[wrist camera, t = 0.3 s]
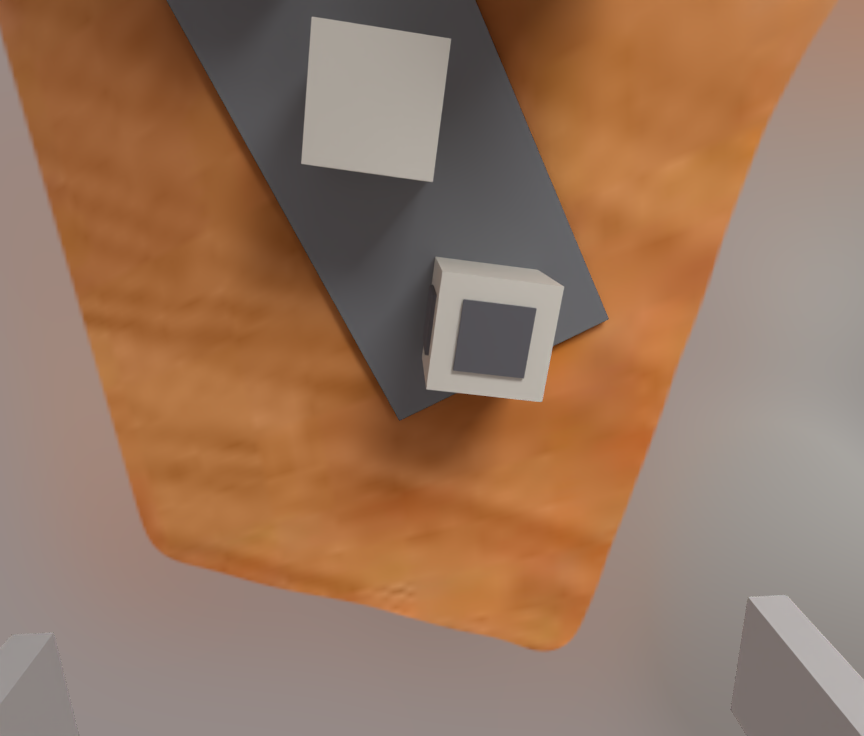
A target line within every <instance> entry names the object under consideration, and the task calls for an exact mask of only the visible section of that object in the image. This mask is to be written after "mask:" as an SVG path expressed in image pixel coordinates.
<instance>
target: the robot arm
mask: <svg viewBox="0 0 864 736" xmlns="http://www.w3.org/2000/svg"><path fill="white" fill-rule="evenodd" d="M731 711H732V713H733V714H734V716H735V717H736V719H737V721H738V722H739V724H740V726H741V727H742V729H743V730H744V732H745V734H746V735H747V736H864V679H863V678H862V677H861V676H860V675H859V674H858V673H857V672H856V670H854V668H853V667H852V666H851V665H850V664H849V663H848V662H847V661H846V660H845V659H844V657H843V656H842V655H841V654H840V653H839V652H838V651H837V650H836V649H835V647H834V646H833V645H832V644H831V643H830V642H829V641H828V640H827V639H826V638H825V637H824V635H822V633H821V632H820V631H819V630H818V629H817V628H816V627H815V626H814V625H813V623H812V622H811V621H810V620H809V619H808V618H807V617H806V616H805V615H804V614H803V612H802V611H801V610H800V609H799V608H798V607H797V606H796V605H795V604H794V603H793V601H792V600H791V599H790V598H789V597H788V596H787V595H776V596H758V597H757V596H756V597H748V600H747V606H746V613H745V619H744V626H743V632H742V639H741V645H740V652H739V658H738V665H737V671H736V677H735V685H734V690H733V697H732V703H731ZM0 736H79V733H78V729H77V724H76V720H75V717H74V712H73V709H72V704H71V700H70V696H69V692H68V688H67V684H66V680H65V676H64V672H63V668H62V664H61V659H60V655H59V652H58V647H57V643H56V639H55V635H54V633H34V634H14V635H11V636H10V637H9V638H8V639H7V641H6V642H5V643H4V644H3V645H2V647H1V648H0Z"/></svg>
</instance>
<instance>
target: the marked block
mask: <svg viewBox="0 0 864 736" xmlns="http://www.w3.org/2000/svg"><path fill="white" fill-rule="evenodd" d="M563 291H564V286H562V285H561V284H559V283H558V282H556V281H555V280H553V279H551V278H550V277H548V276H547V275H545V274H544V273H542V272H541V271H539V270H536V269H528V268H520V267H512V266H505V265H497V264H489V263H481V262H474V261H466V260H458V259H450V258H442V257H435V263H434V271H433V278H432V285H431V284H430V287H429V295H428V302H427V310H426V317H425V325H424V332H423V353H422V361H423V369H424V376H425V384H426V389H428V390H437V391H446V392H455V393H464V394H473V395H482V396H491V397H500V398H509V399H518V400H528V401H537V402H542V399H543V394H544V389H545V384H546V379H547V373H548V368H549V363H550V358H551V353H552V348H553V342H554V337H555V332H556V327H557V322H558V317H559V311H560V306H561V301H562V296H563Z"/></svg>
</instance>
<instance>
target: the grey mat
mask: <svg viewBox="0 0 864 736" xmlns="http://www.w3.org/2000/svg"><path fill="white" fill-rule="evenodd" d="M167 2H168V4H169V6H170V7H171V9H172V11H173V13H174V15H175V16H176V18H177V20H178V22H179V24H180V25H181V27H182V29H183V31H184V33H185V34H186V36H187V38H188V40H189V42H190V43H191V45H192V47H193V49H194V51H195V53H196V54H197V56H198V58H199V60H200V62H201V63H202V65H203V67H204V69H205V71H206V72H207V74H208V76H209V78H210V80H211V81H212V83H213V85H214V87H215V89H216V90H217V92H218V94H219V96H220V98H221V99H222V101H223V103H224V105H225V107H226V108H227V110H228V112H229V114H230V116H231V118H232V119H233V121H234V123H235V125H236V127H237V128H238V130H239V132H240V134H241V136H242V137H243V139H244V141H245V143H246V145H247V146H248V148H249V150H250V152H251V154H252V155H253V157H254V159H255V161H256V163H257V164H258V166H259V168H260V170H261V172H262V173H263V175H264V177H265V179H266V181H267V182H268V184H269V186H270V188H271V190H272V192H273V193H274V195H275V197H276V199H277V201H278V202H279V204H280V206H281V208H282V210H283V211H284V213H285V215H286V217H287V219H288V220H289V222H290V224H291V226H292V228H293V229H294V231H295V233H296V235H297V237H298V238H299V240H300V242H301V244H302V246H303V247H304V249H305V251H306V253H307V255H308V257H309V258H310V260H311V262H312V264H313V266H314V267H315V269H316V271H317V273H318V275H319V276H320V278H321V280H322V282H323V284H324V285H325V287H326V289H327V291H328V293H329V294H330V296H331V298H332V300H333V302H334V303H335V305H336V307H337V309H338V311H339V312H340V314H341V316H342V318H343V320H344V321H345V323H346V325H347V327H348V329H349V331H350V332H351V334H352V336H353V338H354V340H355V341H356V343H357V345H358V347H359V349H360V350H361V352H362V354H363V356H364V358H365V359H366V361H367V363H368V365H369V367H370V368H371V370H372V372H373V374H374V376H375V377H376V379H377V381H378V383H379V385H380V386H381V388H382V390H383V392H384V394H385V396H386V397H387V399H388V401H389V403H390V405H391V406H392V408H393V410H394V412H395V414H396V415H397V417H398V419H399V421H400V420H402V419H404V418H406V417H408V416H410V415H412V414H414V413H416V412H418V411H420V410H422V409H425V408H427V407H429V406H431V405H433V404H435V403H437V402H439V401H441V400H443V399H445V398H447V397H449V396H451V395H453V394H455V392H446V391H437V390H428V389H426V384H425V376H424V369H423V361H422V353H423V332H424V325H425V317H426V310H427V302H428V295H429V287H430V284H431V285H432V278H433V271H434V263H435V257H442V258H450V259H458V260H466V261H474V262H481V263H489V264H497V265H505V266H512V267H520V268H528V269H536V270H539V271H541V272H542V273H544V274H545V275H547V276H548V277H550V278H551V279H553V280H555V281H556V282H558V283H559V284H561V285H562V286H564V291H563V296H562V301H561V306H560V311H559V317H558V322H557V327H556V332H555V337H554V342H553V346H554V345H556V344H558V343H561V342H563V341H565V340H567V339H569V338H571V337H573V336H575V335H577V334H579V333H581V332H583V331H585V330H587V329H589V328H591V327H593V326H596V325H598V324H600V323H602V322H604V321H606V320H608V316H607V314H606V311H605V309H604V307H603V304H602V302H601V299H600V297H599V295H598V292H597V290H596V287H595V285H594V283H593V280H592V278H591V275H590V273H589V271H588V268H587V266H586V264H585V261H584V259H583V256H582V254H581V252H580V249H579V247H578V244H577V242H576V240H575V237H574V235H573V232H572V230H571V228H570V225H569V223H568V221H567V218H566V216H565V213H564V211H563V209H562V206H561V204H560V201H559V199H558V197H557V194H556V192H555V189H554V187H553V185H552V182H551V180H550V178H549V175H548V173H547V170H546V168H545V166H544V163H543V161H542V158H541V156H540V154H539V151H538V149H537V146H536V144H535V142H534V139H533V137H532V134H531V132H530V130H529V127H528V125H527V123H526V120H525V118H524V115H523V113H522V111H521V108H520V106H519V103H518V101H517V99H516V96H515V94H514V91H513V89H512V87H511V84H510V82H509V80H508V77H507V75H506V72H505V70H504V68H503V65H502V63H501V60H500V58H499V56H498V53H497V51H496V48H495V46H494V44H493V41H492V39H491V37H490V34H489V32H488V29H487V27H486V25H485V22H484V20H483V17H482V15H481V13H480V10H479V8H478V5H477V3H476V1H475V0H167ZM312 17H318V18H325V19H331V20H337V21H344V22H350V23H356V24H362V25H369V26H375V27H381V28H387V29H394V30H400V31H406V32H412V33H419V34H425V35H431V36H438V37H444V38H450V39H451V44H450V52H449V60H448V68H447V75H446V83H445V91H444V99H443V107H442V114H441V122H440V130H439V138H438V146H437V153H436V161H435V169H434V177H433V182H426V181H419V180H412V179H405V178H397V177H390V176H383V175H376V174H369V173H362V172H354V171H347V170H340V169H333V168H326V167H318V166H312V165H306V164H301V160H302V146H303V131H304V117H305V103H306V89H307V75H308V61H309V47H310V33H311V19H312Z"/></svg>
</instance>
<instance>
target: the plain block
mask: <svg viewBox="0 0 864 736" xmlns="http://www.w3.org/2000/svg"><path fill="white" fill-rule="evenodd" d="M450 44H451V39H450V38H444V37H438V36H431V35H425V34H419V33H412V32H406V31H400V30H394V29H387V28H381V27H375V26H369V25H362V24H356V23H350V22H344V21H337V20H331V19H325V18H318V17H312V19H311V33H310V47H309V61H308V75H307V89H306V103H305V117H304V131H303V146H302V160H301V164H306V165H312V166H318V167H326V168H333V169H340V170H347V171H354V172H362V173H369V174H376V175H383V176H390V177H397V178H405V179H412V180H419V181H426V182H433V177H434V169H435V161H436V153H437V146H438V138H439V130H440V122H441V114H442V107H443V99H444V91H445V83H446V75H447V68H448V60H449V52H450Z"/></svg>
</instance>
